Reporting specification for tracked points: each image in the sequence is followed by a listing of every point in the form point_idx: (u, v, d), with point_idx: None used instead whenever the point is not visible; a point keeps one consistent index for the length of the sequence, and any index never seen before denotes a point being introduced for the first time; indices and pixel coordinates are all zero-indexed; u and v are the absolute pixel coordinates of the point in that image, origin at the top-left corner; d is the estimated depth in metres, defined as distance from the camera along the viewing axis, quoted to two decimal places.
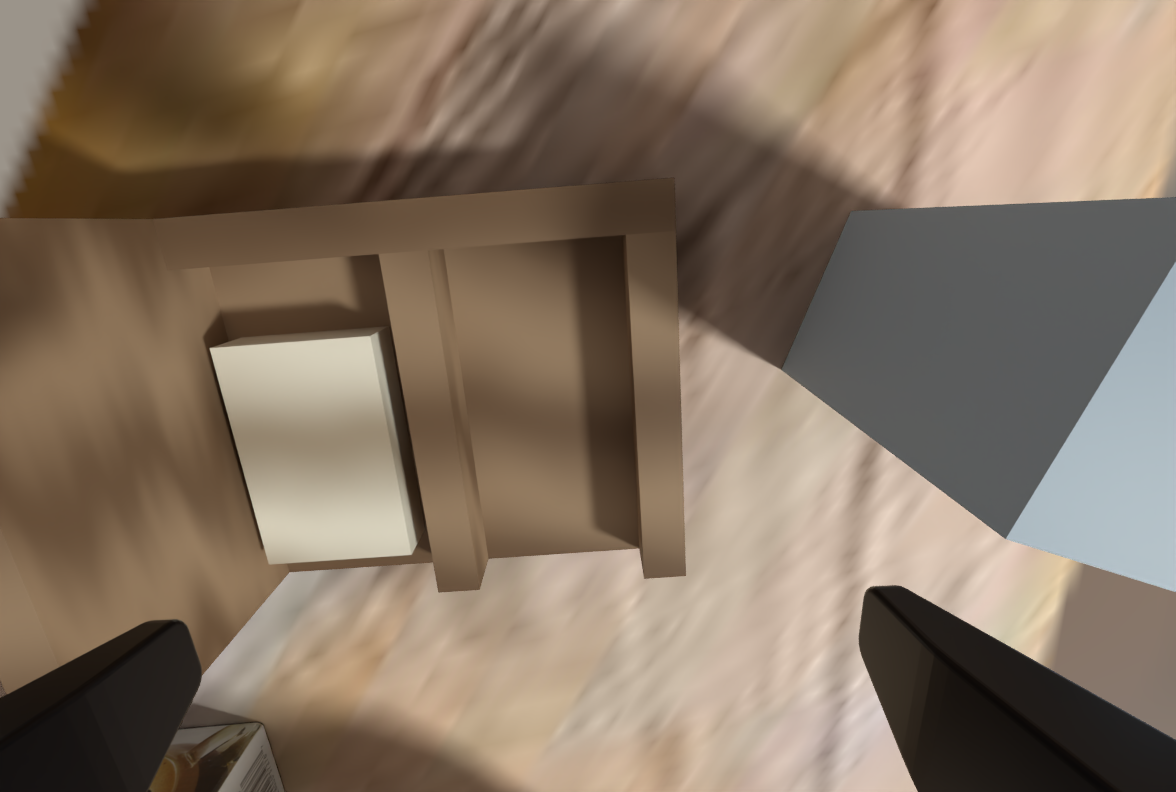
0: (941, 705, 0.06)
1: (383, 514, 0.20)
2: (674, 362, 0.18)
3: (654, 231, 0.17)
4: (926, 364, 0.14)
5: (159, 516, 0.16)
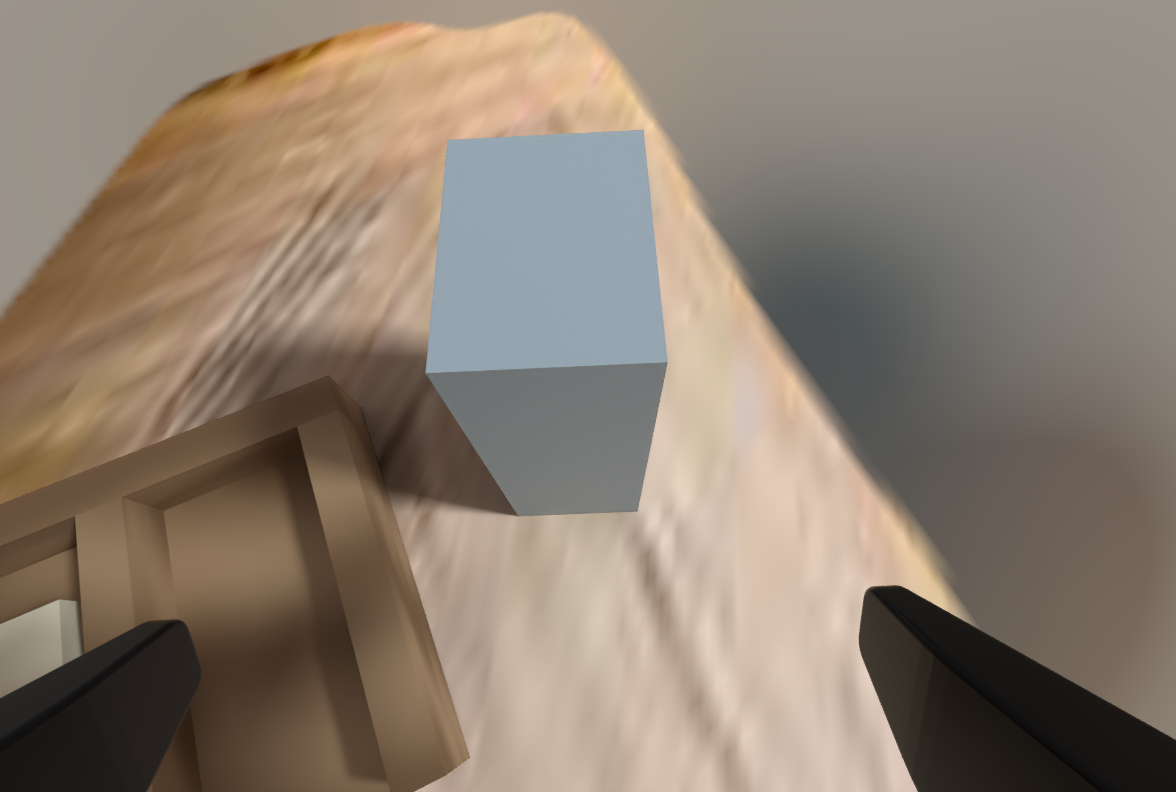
0: (941, 705, 0.06)
1: None
2: (363, 514, 0.19)
3: (320, 415, 0.20)
4: None
5: None
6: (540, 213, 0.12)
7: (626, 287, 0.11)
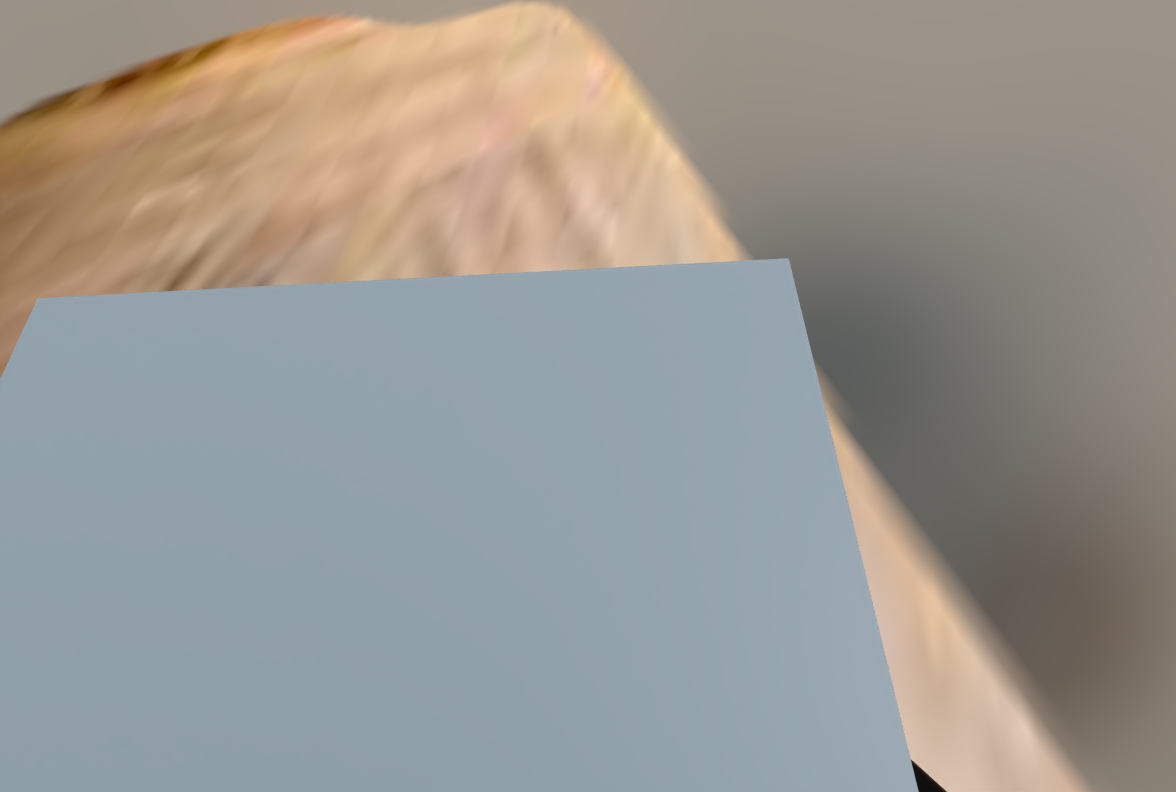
0: None
1: None
2: None
3: None
4: None
5: None
6: (336, 723, 0.02)
7: None
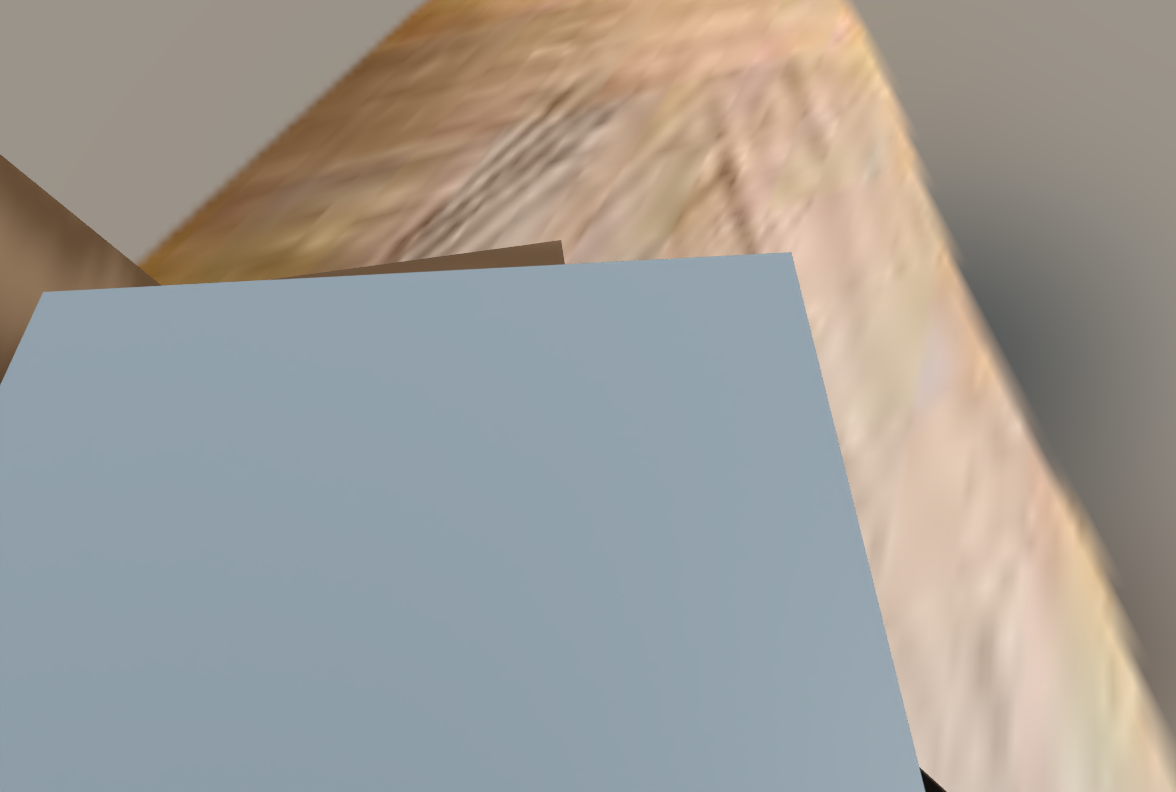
0: None
1: None
2: None
3: None
4: None
5: None
6: (342, 710, 0.02)
7: None
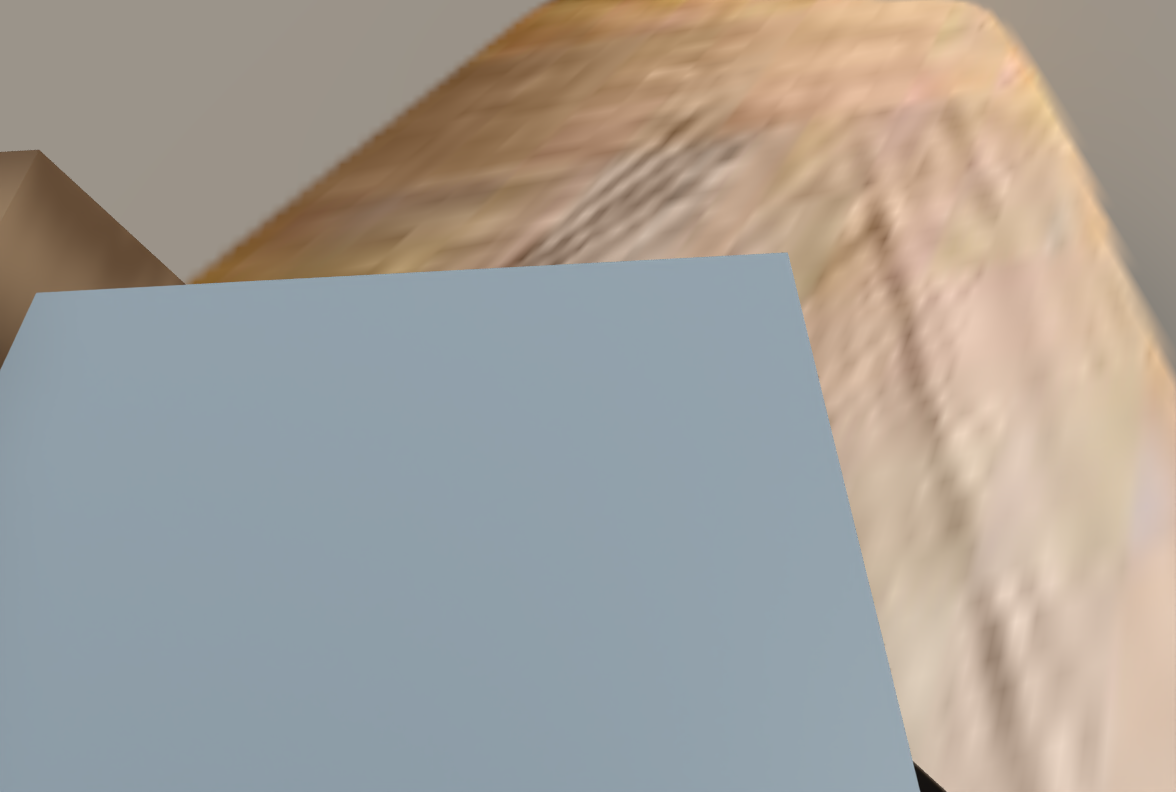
0: None
1: None
2: None
3: None
4: None
5: None
6: (336, 714, 0.02)
7: None
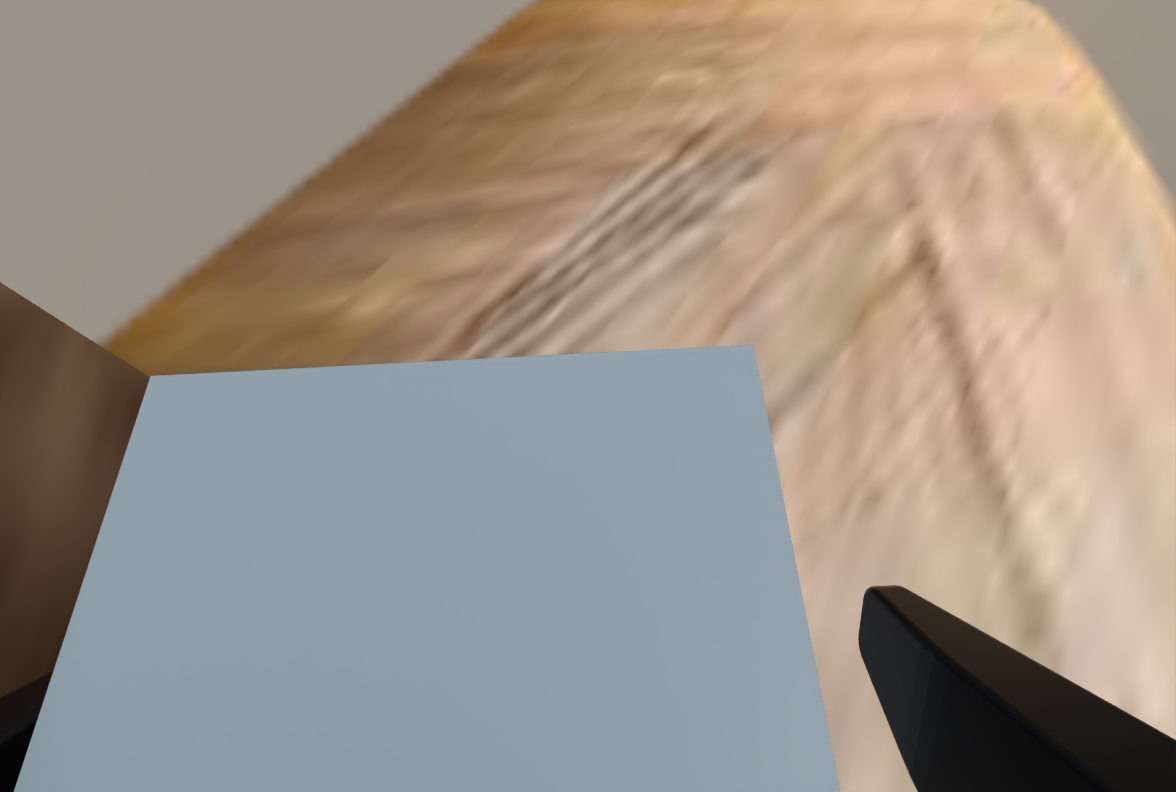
0: (941, 705, 0.06)
1: None
2: None
3: None
4: None
5: None
6: (408, 716, 0.03)
7: None
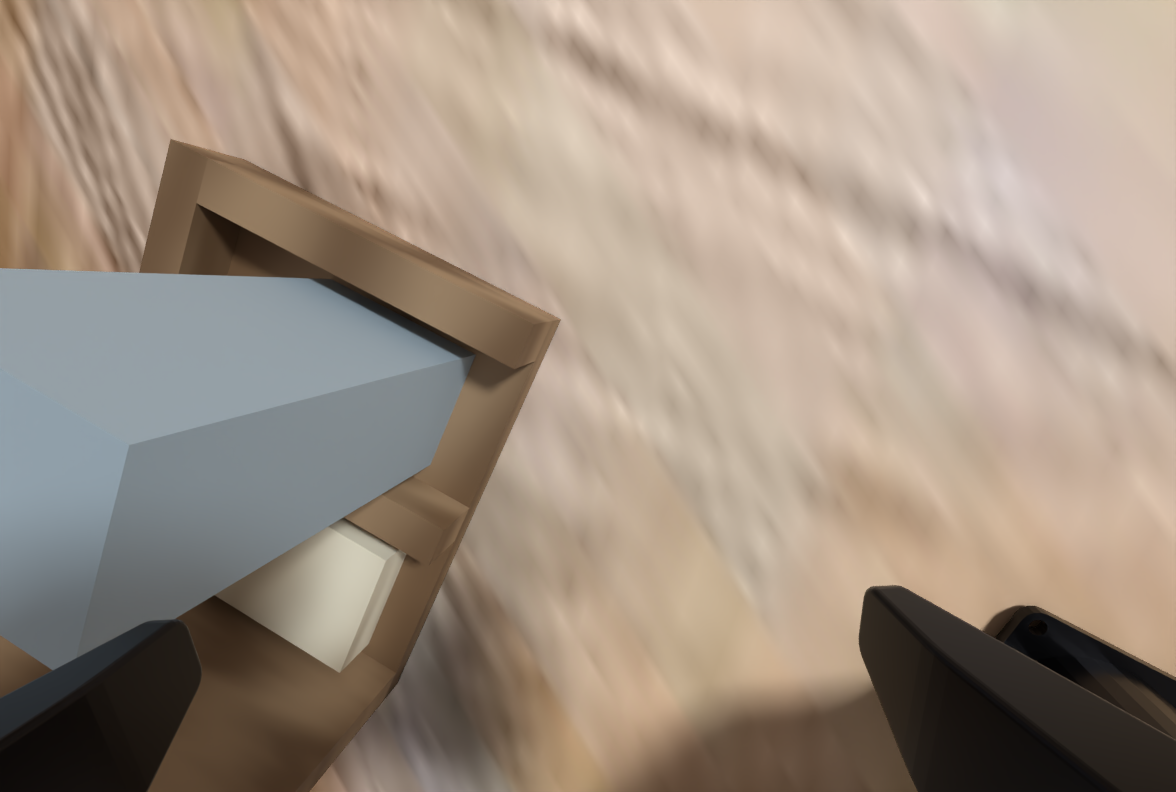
0: (941, 705, 0.06)
1: (339, 553, 0.20)
2: (310, 216, 0.18)
3: (201, 177, 0.18)
4: None
5: None
6: None
7: (28, 428, 0.08)
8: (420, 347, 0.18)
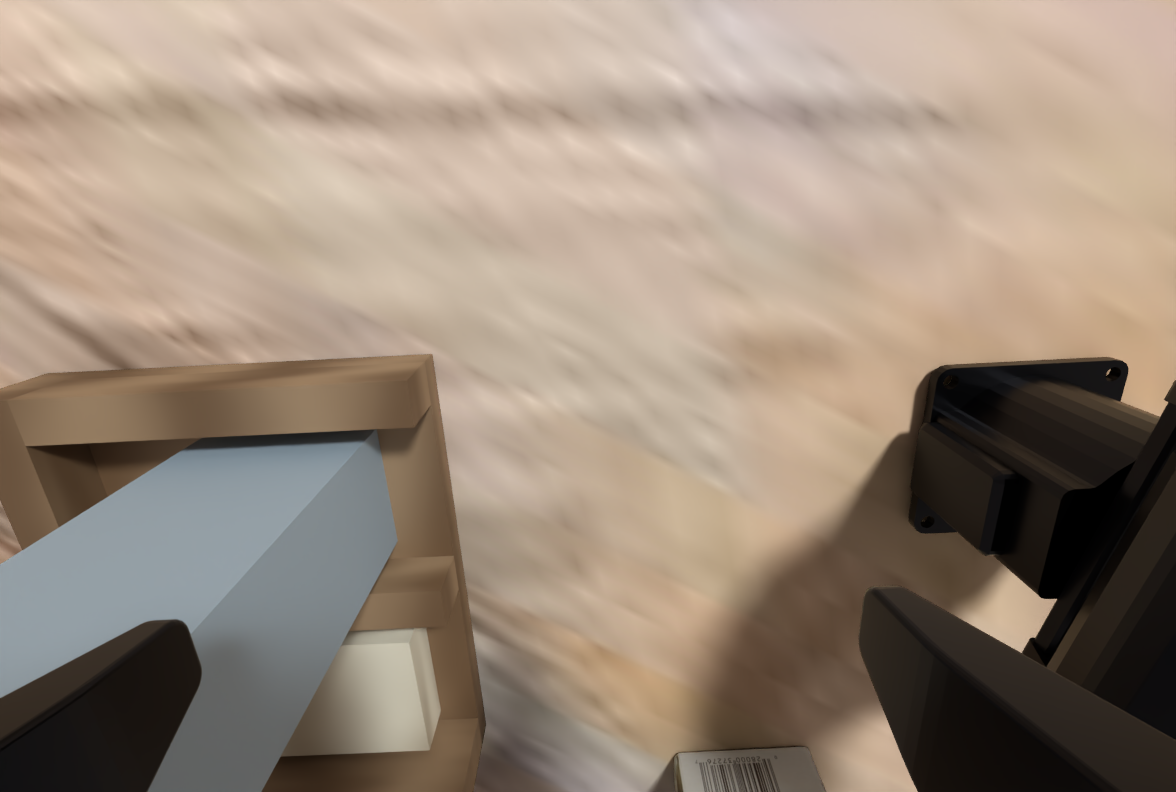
0: (941, 705, 0.06)
1: (366, 660, 0.21)
2: (142, 399, 0.17)
3: (13, 420, 0.17)
4: None
5: None
6: None
7: None
8: (320, 456, 0.18)
